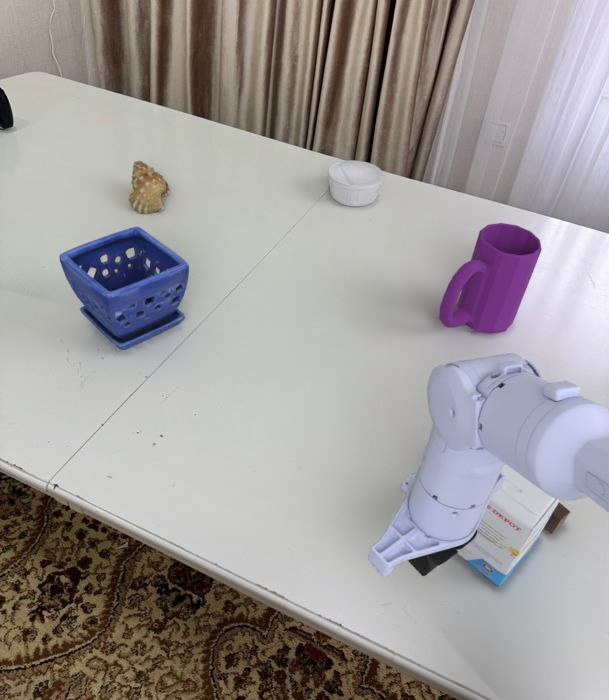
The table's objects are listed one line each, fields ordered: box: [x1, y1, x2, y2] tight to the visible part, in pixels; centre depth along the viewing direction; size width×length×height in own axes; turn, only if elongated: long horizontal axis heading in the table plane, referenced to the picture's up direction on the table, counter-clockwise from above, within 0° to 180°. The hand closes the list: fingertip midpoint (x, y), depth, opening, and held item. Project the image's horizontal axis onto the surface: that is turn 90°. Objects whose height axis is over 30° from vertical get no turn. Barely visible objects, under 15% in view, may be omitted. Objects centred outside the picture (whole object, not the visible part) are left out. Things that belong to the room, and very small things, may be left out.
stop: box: [543, 501, 571, 535], centre depth 75 cm, size 12×2×3 cm, turn 38°
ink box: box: [456, 464, 561, 587], centre depth 67 cm, size 8×8×12 cm
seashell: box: [127, 160, 171, 215], centre depth 119 cm, size 9×8×10 cm
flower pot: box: [58, 226, 190, 351], centre depth 90 cm, size 13×13×12 cm
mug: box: [438, 222, 542, 335], centre depth 94 cm, size 9×16×15 cm, turn 124°
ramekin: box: [327, 159, 385, 208], centre depth 126 cm, size 11×11×5 cm
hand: (420, 564), depth 58 cm, fingers closed
